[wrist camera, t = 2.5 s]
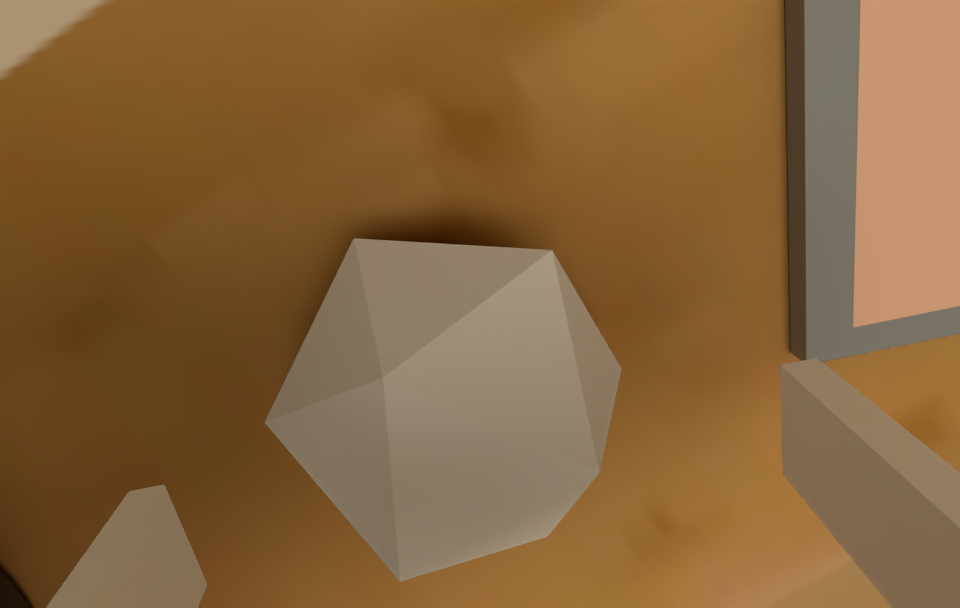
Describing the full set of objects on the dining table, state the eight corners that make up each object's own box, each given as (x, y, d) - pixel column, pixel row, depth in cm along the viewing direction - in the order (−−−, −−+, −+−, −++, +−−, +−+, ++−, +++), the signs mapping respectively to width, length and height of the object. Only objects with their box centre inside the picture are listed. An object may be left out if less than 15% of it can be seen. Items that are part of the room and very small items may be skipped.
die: (307, 189, 20) (136, 498, 14) (577, 115, 15) (484, 517, 10) (443, 345, 25) (357, 613, 20) (671, 322, 21) (645, 659, 15)
